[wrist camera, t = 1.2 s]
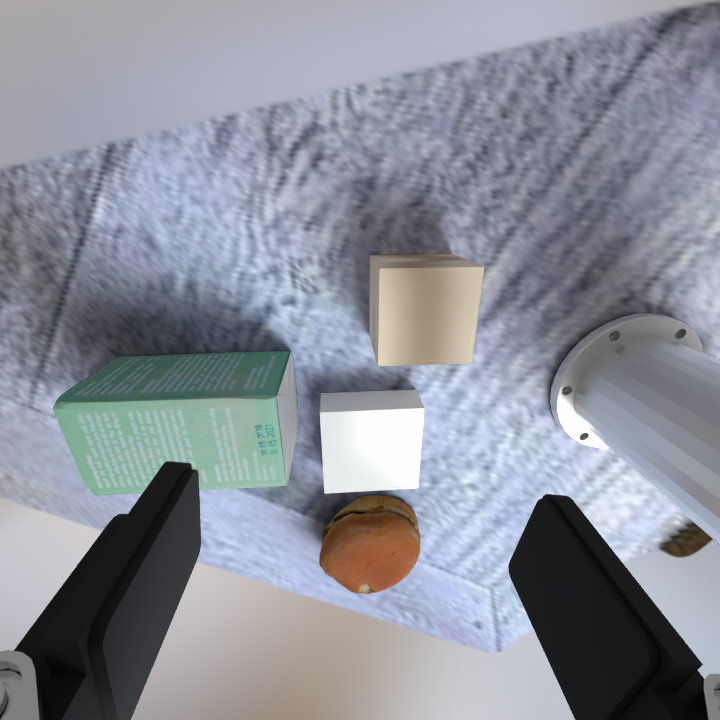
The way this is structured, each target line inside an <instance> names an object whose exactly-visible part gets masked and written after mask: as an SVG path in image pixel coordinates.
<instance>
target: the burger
mask: <svg viewBox="0 0 720 720" xmlns="http://www.w3.org/2000/svg"><path fill="white" fill-rule="evenodd" d="M322 536H323V541H322V544H323V545H322V548H321V552H320V561H319V563H320V566H321V567H322V569H323V570H324V572H325V573H326V574H327V575H329V576H330V577H333V578H334V579H335V580H336V581H337V582H338V583H340V584H341V585H342V586H344V587H345V588H347V589H348V590H350V591H352V592H354V593H362V592H363V593H365V594H370V593H372V592H373V593H377V592H379V591H382V590H385V589H387V588H389V587H391V586H393V585H395V584H397V583H398V582H400V581H401V580H402V579H403V578H404V577H406V576H407V575H408V574H409V573H410V571H411V569H412V568H413V566H414V565H415V564H416V562H417V559H418V556H419V553H420V534H419V530H418V526H417V518H416V515H415V513H414V511H413V510H412V509H411V508H410V507H409V506H408V505H406V504H405V503H404V502H402V501H400V500H398V499H395V498H393V497H387V496H381V495H364V496H362V497H360V498H357V499H355V500H354V501H352V502H351V503H350V504H348V505H347V506H346V507H345V508H343V509H342V510H341V511H340V512H339V513H337V514H336V515H335V516H334V517H333V519H332V520H331V521H330V522H329V523H328V524H327V525H326V527H325V534H324V535H322Z"/></svg>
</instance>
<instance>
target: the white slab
mask: <svg viewBox="0 0 720 720" xmlns="http://www.w3.org/2000/svg"><path fill="white" fill-rule="evenodd" d="M424 409H425V408H424V406H423V404H422V401H421V399H420V397H419V395H418V393H417V390H416V389H415V390H389V391H363V392H337V393H321V400H320V426H321V443H322V459H323V476H324V493H325V494H326V493H344V492H362V491H379V490H397V489H415V488H418V484H419V471H420V459H421V446H422V434H423V421H424Z"/></svg>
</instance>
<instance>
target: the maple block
mask: <svg viewBox="0 0 720 720" xmlns="http://www.w3.org/2000/svg"><path fill="white" fill-rule="evenodd" d="M483 275H484V266H481V265H479V264H476V263H474V262H471V261H469V260H466V259H464V258H461V257H459V256H456V255H454V254H414V255H370V283H369V336H370V339H371V343H372V347H373V350H374V354H375V357H376V361H377V365H378V366H402V365H431V364H461V363H472V356H473V349H474V342H475V334H476V327H477V319H478V312H479V304H480V297H481V290H482V282H483Z"/></svg>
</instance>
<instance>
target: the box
mask: <svg viewBox="0 0 720 720" xmlns="http://www.w3.org/2000/svg"><path fill="white" fill-rule="evenodd" d="M53 410H54V413H55V415H56V417H57V420H58V422H59V425H60V427H61V430H62V432H63V435H64V437H65V439H66V442H67V444H68V447H69V449H70V451H71V454H72V456H73V458H74V461H75V463H76V465H77V467H78V470H79V472H80V474H81V476H82V479H83V481H84V484H85V487H86V489H87V490H88V491H89V492H91V493H93V494H95V495H98V496H99V495H112V494H129V493H143V492H144V491H145V489H146V488H147V486H148V485H149V484H150V482H151V481H152V479H153V478H154V476H155V475H156V474H157V472H158V471H159V469H160V468H161V466H162V465H163V464H164V463H165V462H166V461H173V462H184V463H191V465H192V469H196V470H198V473H199V490H208V489H231V488H257V487H276V486H287V484H288V480H289V475H290V469H291V464H292V459H293V454H294V449H295V444H296V439H297V434H298V429H299V415H298V403H297V391H296V379H295V369H294V361H293V355H292V352H291V351H276V352H221V353H197V354H174V355H152V356H122V357H118V358H116V359H115V360H113V361H112V362H110V363H109V364H108V365H106V366H105V367H103V368H102V369H100V370H99V371H97V372H96V373H94V374H93V375H91V376H89V377H88V378H86V379H84V380H83V381H81V382H80V383H78V384H77V385H75V386H74V387H72V388H71V389H70V390H68V391H67V392H65V393H64V394H63V395H61V396H60V397H59V398H58V399H57V401H56V403H55V405H54V407H53Z"/></svg>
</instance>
